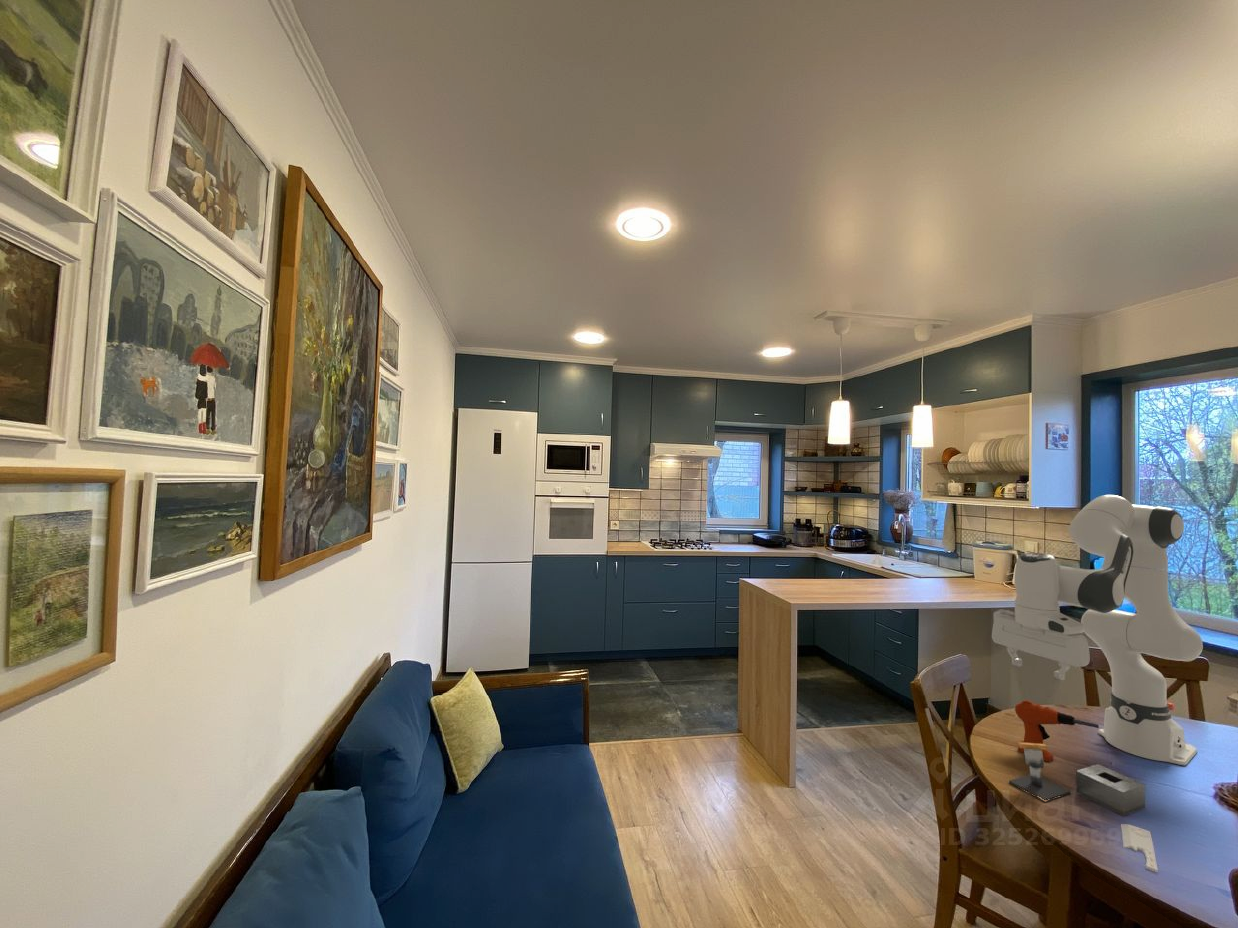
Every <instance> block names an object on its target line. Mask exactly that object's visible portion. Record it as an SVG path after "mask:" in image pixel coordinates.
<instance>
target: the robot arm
mask: <svg viewBox="0 0 1238 928" xmlns="http://www.w3.org/2000/svg"><path fill="white" fill-rule="evenodd" d="M1184 525H1185V524H1184V521H1183V517H1182V515H1181V514H1180V513H1179V512H1178V511H1177V510H1176V509H1173V508H1169V507H1164V506H1149V505H1141V504H1140V505H1139V504H1132V503H1131V502H1130V501H1129V500H1128V499H1126V498H1124V497H1122V496H1119V495H1115V494H1105V495H1100V496H1097V497H1095V498H1094V499H1092V500H1090V501H1089V502H1088V503H1087V504H1086V505H1085V506H1083V507H1082V508H1081V510H1080V511H1078V513H1077V514H1076V515H1075V517H1074V518H1073V519H1072V520H1071V522H1070V524H1069V528H1068V533H1069V536H1070V538H1071V540H1072V541H1073V543H1074V544H1075V545H1076V546H1077V547H1078V548H1080V549H1081V550H1083V551H1085V552H1087V553H1089V554H1091V555H1096V556H1099V557H1102V558H1104V560H1103V563H1102V566H1101V568H1096V569H1095V568H1093V569H1086V568H1078V567H1072V566H1066V565H1061V564H1059V563H1057V559H1056V557H1055V556H1053V555H1052V554H1048V553H1043V552H1028V553H1023V554H1020V555H1019V556H1018V557H1017V558H1016V563H1015V570H1014V588H1015V592H1016V597H1015V600H1014V611H1010V610H1006V609H1002V608H1001V609H1000V608H999V609H998V610H995V611H994V612H993V624H992V629H991V630H992V631H991V638H992V640H993V642H994V643H995V644H999V645H1001V646H1004V647H1006V651H1007V653H1008V654H1009V656H1010V658H1011V664H1012V665H1013V666H1016V667H1023V658H1020V657H1019V655H1018V654H1017V651H1022V652H1025V653H1027V654H1032V655H1035V656H1038V657H1041V658H1046V659H1048V660H1052V661H1055V662H1058V666H1059V667H1060V668H1059V669H1058V670H1054V671H1053V678H1054V679H1056V680H1059V681H1065V679H1066V673H1067V672H1068V671H1069V670H1070V669H1071V668H1072V667H1076V668H1083V667H1086V666H1087V665H1089V664H1090V661H1091V660H1090V657H1091V656H1090V648H1089V642H1088V639H1087V637H1088V638H1089V639H1091V640H1092V641H1093V643H1095V644H1096V645H1097V647H1099V649H1100V650H1101V651H1102V653H1103V654H1104V656H1105V659H1107V663H1108V665H1109V668H1110V669H1109V670H1110V675H1111V689H1112V690H1111V692H1110V694H1109V695H1110V696H1109V701H1110V702H1109V703H1110V706H1109V707H1106V708H1105V710H1104V711H1105V712H1104V721H1103V728H1098V734H1099V735H1100V736H1102V737H1104V739H1105V741H1106V742H1108V743H1109V744H1110V745H1111V746H1113V747H1114V748H1117V749H1118V750H1121V751H1123V752H1125V753H1128V754H1131V755H1134V756H1136V757H1141V758H1144V759H1147V760H1152V761H1159V762H1165V763H1171V764H1176V765H1180V766H1186V765H1188V764H1189V762H1190V761H1191V760H1192V759H1193V757H1194V756H1195V755H1196V754H1197V752H1198V749H1197V747H1195V746H1194V745H1191V744H1190V743H1187V742H1186V741H1185V740H1186V739H1185V730H1184V728H1183V727H1182V726H1180V725H1179V724H1178V723H1177V722H1176V721H1175V720H1173V719H1172V715H1171V713H1172V712H1171V711H1174V710H1175V705H1174V703H1173V702H1168V701H1167V698H1168V697H1167V680H1166V678H1165V676H1164V675H1163V674H1162V673H1161V672H1160V671H1159V670H1158V669H1156V668H1155V667H1154V666H1152V665H1151V664H1149V663H1148V662H1147V661H1146V659H1144V657H1143V656H1142V654H1145V655H1148V656H1152V657H1156V658H1160V659H1164V660H1171V661H1179V662H1180V661H1182V662H1192V661H1194V660H1196V659H1197V658H1198V657H1200V655H1201V654H1202V652H1203V649H1204V645H1203V639H1202V638H1201V635H1200V634H1199V633H1198V632H1197V630H1196V629H1195V628H1193V627H1192V626H1190V625H1189V624H1188V623H1186V622H1185V620H1183V619H1182V617H1180V616H1179V614H1178V613H1177V612H1176V610H1175V608H1174V607H1173V605H1172V603H1171V601H1170V600H1171V599H1170V597H1169V586H1168V585H1169V584H1168V583H1169V582H1168V577H1169V575H1168V572H1169V571H1168V570H1169V563H1168V552H1167V548H1168V547H1169V545H1174V544H1175V543H1177V542H1178V541H1179V540H1180V539H1181V538H1182V536H1183V533H1184V530H1185V527H1184ZM1124 599H1126V600H1127V601H1129V602H1130V603H1131V604H1132V605H1133V607H1134V608H1135V611H1136V613H1134V612H1130V611H1129V612H1128V611H1125V610H1119V608H1120V607H1121V606H1122V605H1123V603H1124ZM1059 604H1064V605H1069V606H1074V607H1079V608H1085V609H1086V611H1084V613H1083V614H1082V616H1081V619H1080V622H1079V621H1078V620H1075V619H1073V618H1071V617H1069V616H1067V615H1066V614H1063V613H1061V610H1060V609H1061V608H1060V605H1059ZM1083 633H1084V634H1085V635H1086V636H1087V637H1086V636H1085V635H1084V634H1083Z"/></svg>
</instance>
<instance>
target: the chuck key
mask: <svg viewBox="0 0 1238 928" xmlns="http://www.w3.org/2000/svg"><path fill="white" fill-rule="evenodd" d="M1019 747H1020V748H1024V752H1025V753H1024V759H1025V764H1026V765H1027V766H1029V774H1030V776H1031V784H1032V785H1034V786H1036V787H1043V785H1042V777H1043V776H1042V769H1043V768H1044V767H1045V763H1044V761H1043V753H1042V750H1047V751H1048V749H1047V748H1048V747H1047V745H1046V744H1045V743H1043V744H1038V743H1023V742H1020V741H1019V742H1018V748H1019Z"/></svg>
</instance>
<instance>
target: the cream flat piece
mask: <svg viewBox="0 0 1238 928" xmlns="http://www.w3.org/2000/svg"><path fill="white" fill-rule="evenodd" d="M1120 828H1121V834H1122V835H1121V837H1122V843H1123V848H1127V849H1128V848H1129V849H1133V851H1134V852H1138V851H1141V852H1142V853H1143V855H1144V856H1145V859H1146V863H1145V869H1147V870H1149V871H1152V872H1155V873H1157V874H1158V873H1159V871H1158V864H1157V859H1156V855H1155V846H1154V842H1153V841H1154V840H1153V839H1152V834H1151V831H1150V830H1148V829H1147V830H1146V829H1143V828H1142V827H1138V826H1135V825H1132V824H1127V823H1121V824H1120Z"/></svg>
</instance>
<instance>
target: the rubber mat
mask: <svg viewBox="0 0 1238 928" xmlns="http://www.w3.org/2000/svg"><path fill="white" fill-rule="evenodd" d="M1008 784H1010V785H1012V786H1014V787H1016V786H1017V787H1016V788H1018V787H1019V788H1021V789H1023V790H1025V791H1027V792H1029V793H1031V794H1033V795H1035V796H1039V797H1041V798H1042V799H1044V800H1048V799H1053V798H1055V797H1058V796H1061V797H1063V796H1066V795H1069V794H1070V795H1071V790H1069V788H1068V789H1067V788H1066V787H1063V786H1062V785H1059V784H1057V783H1056V782H1053V781H1052V780H1049V779H1047V778H1045V777H1043V776H1042V785H1043V787H1036V786H1034V785H1032V784H1031V776H1030V773H1029V774H1026V775H1022V776H1020V777H1017V778H1014V779H1009V780H1008ZM1019 788H1018V789H1019ZM1021 789H1020V790H1021ZM1023 790H1022V791H1023ZM1025 791H1024V792H1025ZM1027 792H1026V793H1027ZM1029 793H1028V794H1029ZM1031 794H1030V795H1031ZM1033 795H1032V796H1033ZM1053 800H1054V799H1053Z"/></svg>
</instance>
